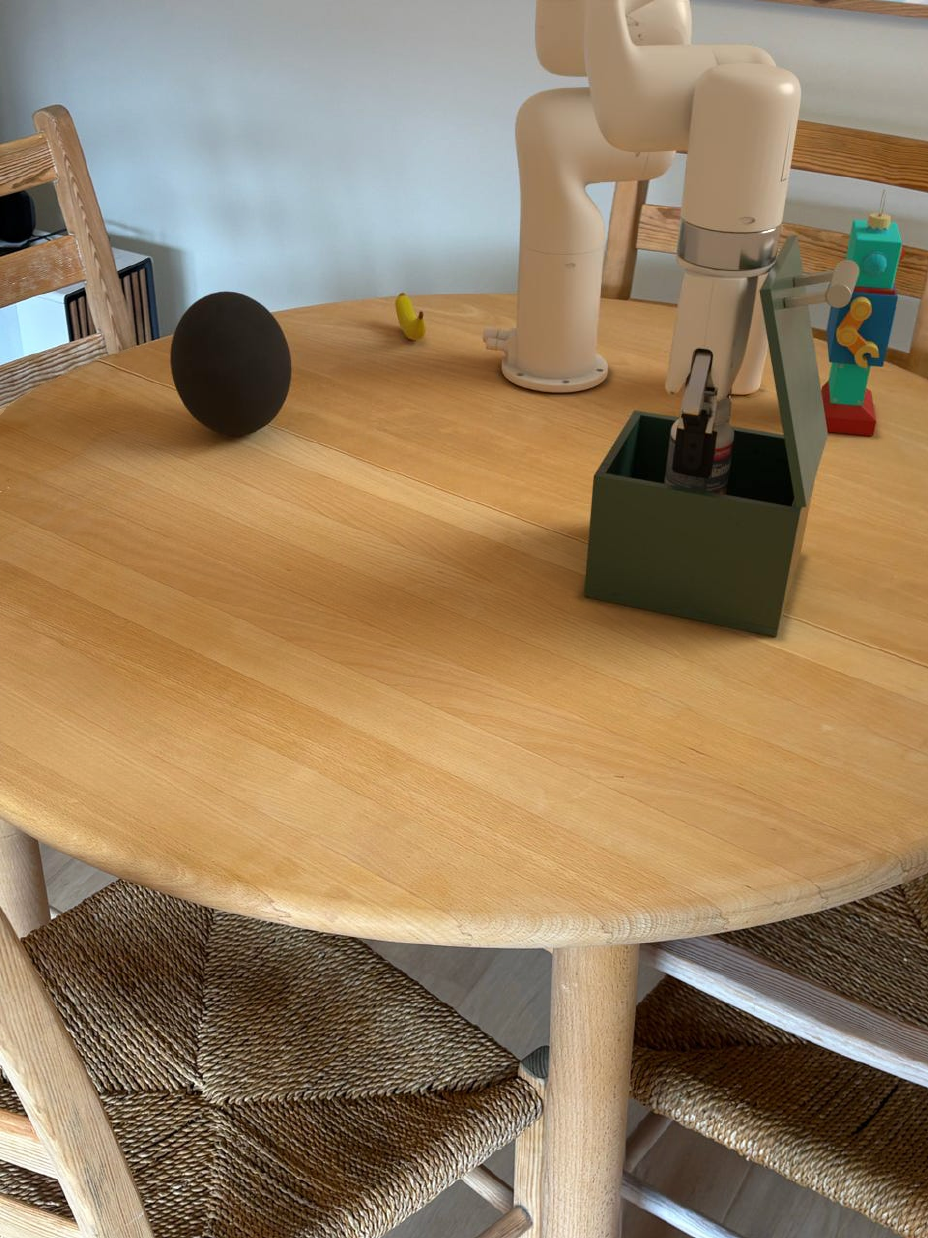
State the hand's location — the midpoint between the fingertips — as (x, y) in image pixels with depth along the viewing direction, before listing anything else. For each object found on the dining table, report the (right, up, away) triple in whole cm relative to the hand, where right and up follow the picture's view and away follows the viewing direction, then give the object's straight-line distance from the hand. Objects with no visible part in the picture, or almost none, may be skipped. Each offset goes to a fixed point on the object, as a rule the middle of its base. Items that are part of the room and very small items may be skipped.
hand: (699, 456), depth 104 cm
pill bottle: (0, -3, +2) cm, 4 cm away
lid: (+6, +6, -7) cm, 11 cm away
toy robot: (+22, +9, +34) cm, 42 cm away
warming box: (+1, -10, +6) cm, 12 cm away
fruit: (-26, +22, +53) cm, 63 cm away
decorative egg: (-44, +7, +30) cm, 54 cm away
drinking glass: (+12, +13, +41) cm, 45 cm away
